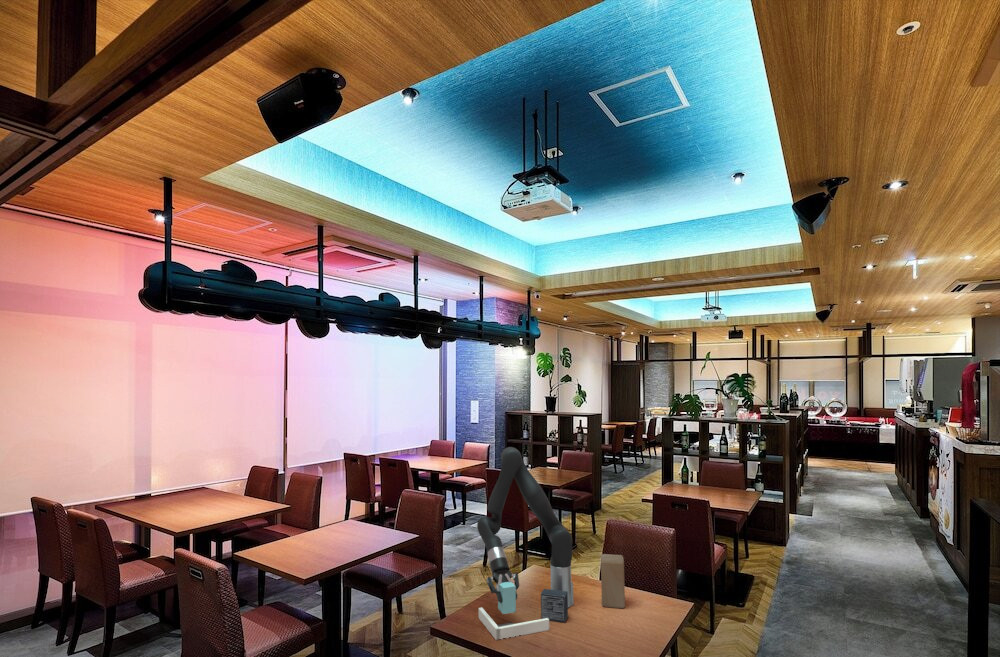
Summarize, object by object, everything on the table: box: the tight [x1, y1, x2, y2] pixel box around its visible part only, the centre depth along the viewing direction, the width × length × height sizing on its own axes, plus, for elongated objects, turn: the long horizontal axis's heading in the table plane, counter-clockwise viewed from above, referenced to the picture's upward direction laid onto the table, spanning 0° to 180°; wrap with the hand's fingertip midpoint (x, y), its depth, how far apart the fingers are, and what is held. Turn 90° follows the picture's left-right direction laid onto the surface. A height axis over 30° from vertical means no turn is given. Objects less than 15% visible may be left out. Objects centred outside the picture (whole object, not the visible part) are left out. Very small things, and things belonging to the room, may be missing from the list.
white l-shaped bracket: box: [478, 607, 550, 641], centre depth 218 cm, size 23×21×4 cm
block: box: [600, 553, 626, 609], centre depth 238 cm, size 10×10×20 cm
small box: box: [540, 588, 569, 624], centre depth 224 cm, size 11×6×10 cm, turn 71°
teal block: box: [497, 581, 517, 615], centre depth 215 cm, size 6×6×10 cm
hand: (508, 601), depth 214 cm, fingers closed on teal block, 5 cm apart
